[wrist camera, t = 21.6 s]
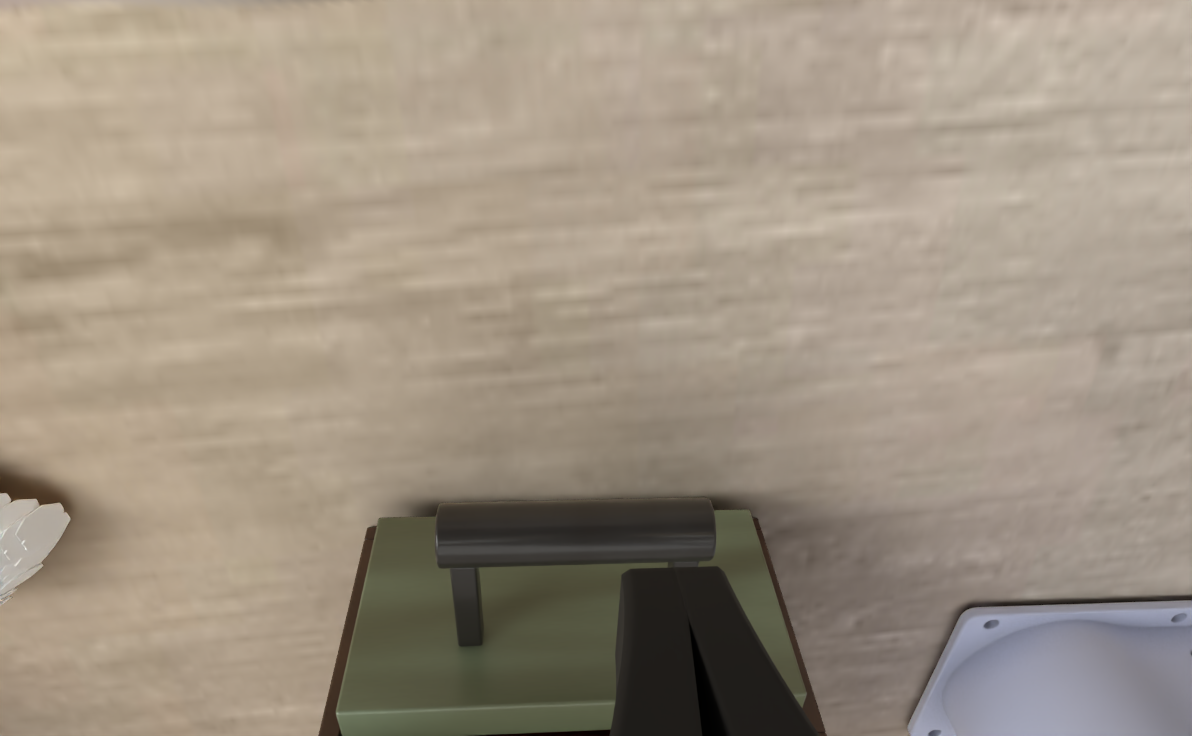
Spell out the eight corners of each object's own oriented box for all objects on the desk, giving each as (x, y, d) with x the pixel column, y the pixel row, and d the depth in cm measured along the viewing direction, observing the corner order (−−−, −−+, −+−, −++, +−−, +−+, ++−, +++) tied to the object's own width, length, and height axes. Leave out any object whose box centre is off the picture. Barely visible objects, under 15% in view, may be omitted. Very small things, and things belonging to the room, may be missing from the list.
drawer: (357, 396, 20) (298, 587, 15) (774, 391, 21) (848, 571, 16) (419, 746, 29) (396, 933, 24) (703, 733, 30) (736, 912, 25)
